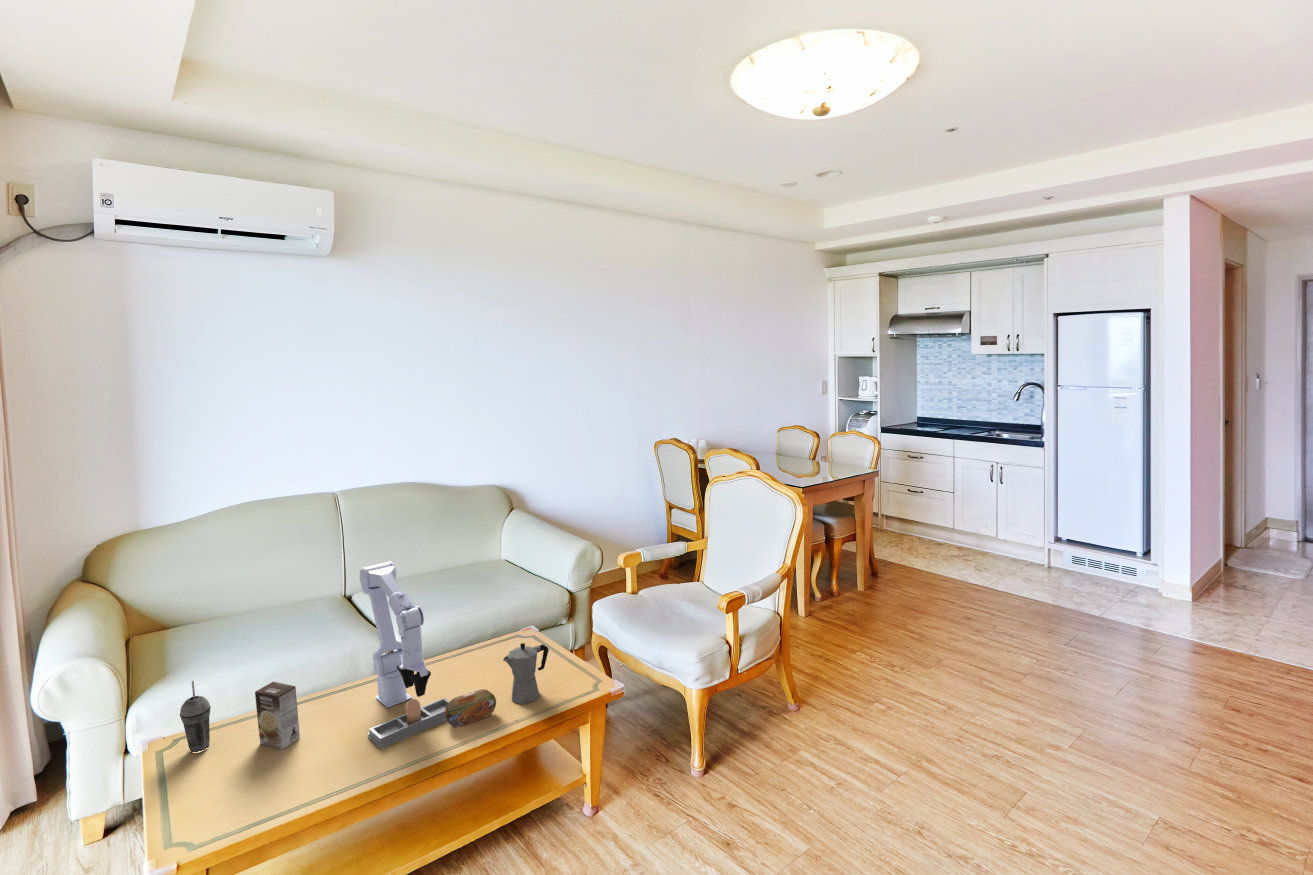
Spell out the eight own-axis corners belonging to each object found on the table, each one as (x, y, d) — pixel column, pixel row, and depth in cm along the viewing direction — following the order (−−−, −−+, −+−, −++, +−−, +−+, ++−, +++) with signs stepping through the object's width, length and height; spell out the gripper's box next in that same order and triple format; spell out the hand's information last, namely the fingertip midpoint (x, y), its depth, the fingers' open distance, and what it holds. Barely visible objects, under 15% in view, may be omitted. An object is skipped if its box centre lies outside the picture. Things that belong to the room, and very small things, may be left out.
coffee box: (258, 744, 191) (253, 691, 189) (277, 732, 197) (272, 680, 195) (283, 749, 188) (277, 695, 186) (301, 737, 194) (296, 685, 192)
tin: (447, 730, 195) (445, 703, 194) (444, 725, 198) (442, 699, 197) (497, 714, 203) (495, 688, 202) (493, 710, 206) (492, 684, 205)
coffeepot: (512, 709, 206) (509, 654, 204) (500, 697, 213) (497, 644, 211) (556, 694, 215) (554, 640, 212) (543, 682, 222) (541, 631, 220)
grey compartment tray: (368, 737, 193) (367, 727, 192) (444, 704, 210) (443, 696, 209) (381, 749, 186) (380, 739, 186) (459, 714, 204) (458, 706, 203)
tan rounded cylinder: (404, 722, 198) (403, 700, 197) (417, 716, 201) (415, 694, 200) (411, 727, 195) (409, 704, 194) (423, 721, 198) (422, 699, 197)
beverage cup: (182, 759, 184) (173, 691, 182) (186, 746, 191) (178, 680, 188) (213, 751, 187) (205, 684, 185) (216, 739, 194) (209, 673, 192)
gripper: (388, 645, 201) (391, 687, 202) (409, 659, 191) (413, 704, 192) (410, 637, 206) (413, 679, 207) (433, 651, 196) (436, 695, 197)
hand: (415, 690), depth 200 cm, fingers open, 7 cm apart
